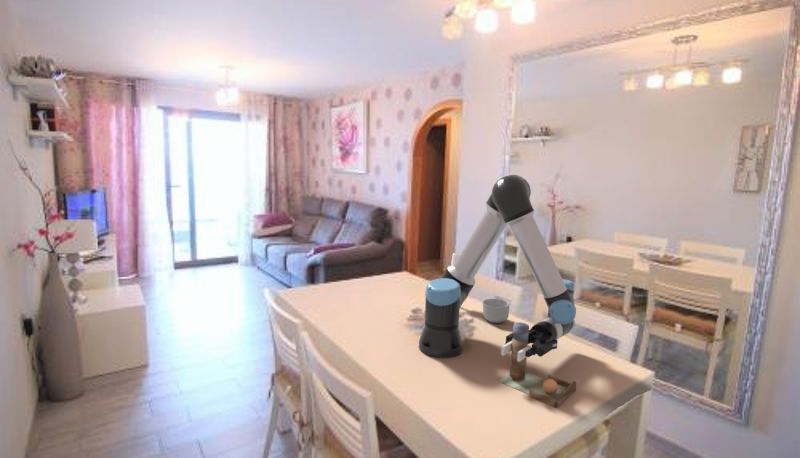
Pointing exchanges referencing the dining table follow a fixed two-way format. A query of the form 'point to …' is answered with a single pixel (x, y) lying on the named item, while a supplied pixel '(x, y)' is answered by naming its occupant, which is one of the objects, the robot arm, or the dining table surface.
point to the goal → (541, 388)
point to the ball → (550, 386)
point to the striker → (518, 344)
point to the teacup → (495, 310)
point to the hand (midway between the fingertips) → (510, 353)
